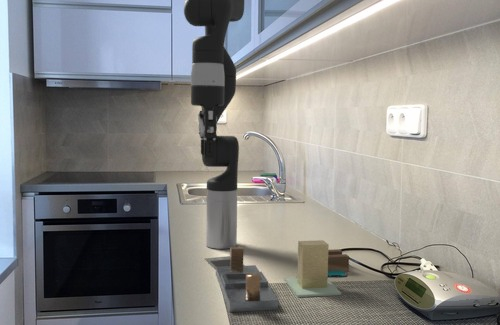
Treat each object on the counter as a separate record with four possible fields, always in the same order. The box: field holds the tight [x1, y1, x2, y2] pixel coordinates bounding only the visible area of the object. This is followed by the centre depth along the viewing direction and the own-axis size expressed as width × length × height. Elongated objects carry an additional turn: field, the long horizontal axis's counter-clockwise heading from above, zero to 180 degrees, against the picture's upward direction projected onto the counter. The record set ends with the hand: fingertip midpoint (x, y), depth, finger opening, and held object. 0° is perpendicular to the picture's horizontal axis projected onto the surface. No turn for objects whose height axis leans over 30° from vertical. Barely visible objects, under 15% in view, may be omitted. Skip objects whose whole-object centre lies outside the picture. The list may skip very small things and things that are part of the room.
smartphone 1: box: [204, 255, 246, 271], centre depth 138 cm, size 15×8×1 cm, turn 22°
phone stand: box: [328, 248, 350, 273], centre depth 136 cm, size 7×10×4 cm
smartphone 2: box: [328, 271, 347, 278], centre depth 136 cm, size 7×1×15 cm
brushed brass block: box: [296, 239, 329, 288], centre depth 121 cm, size 4×6×10 cm, turn 100°
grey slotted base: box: [215, 246, 279, 313], centre depth 118 cm, size 25×10×7 cm, turn 10°
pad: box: [284, 276, 342, 298], centre depth 121 cm, size 12×10×1 cm
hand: (207, 156), depth 119 cm, fingers open, 8 cm apart
